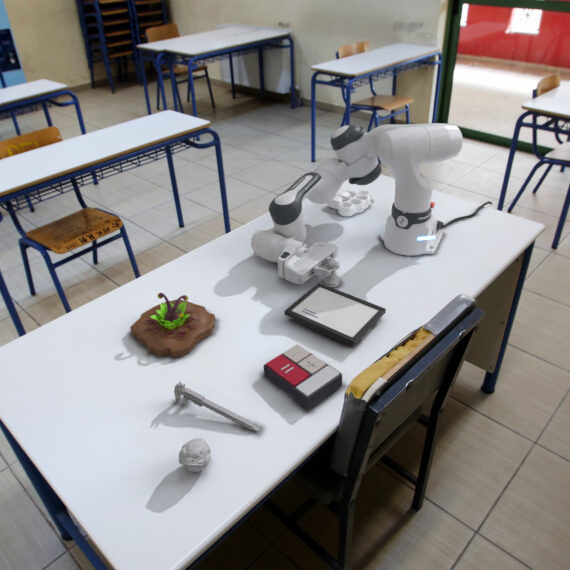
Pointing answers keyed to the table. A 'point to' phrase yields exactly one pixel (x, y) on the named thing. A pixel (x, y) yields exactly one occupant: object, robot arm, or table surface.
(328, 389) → the calculator
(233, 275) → the table surface
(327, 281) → the chess piece
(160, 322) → the plant
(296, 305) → the whiteboard
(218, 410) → the caliper
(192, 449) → the frog figurine
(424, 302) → the table surface
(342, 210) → the white egg carton
